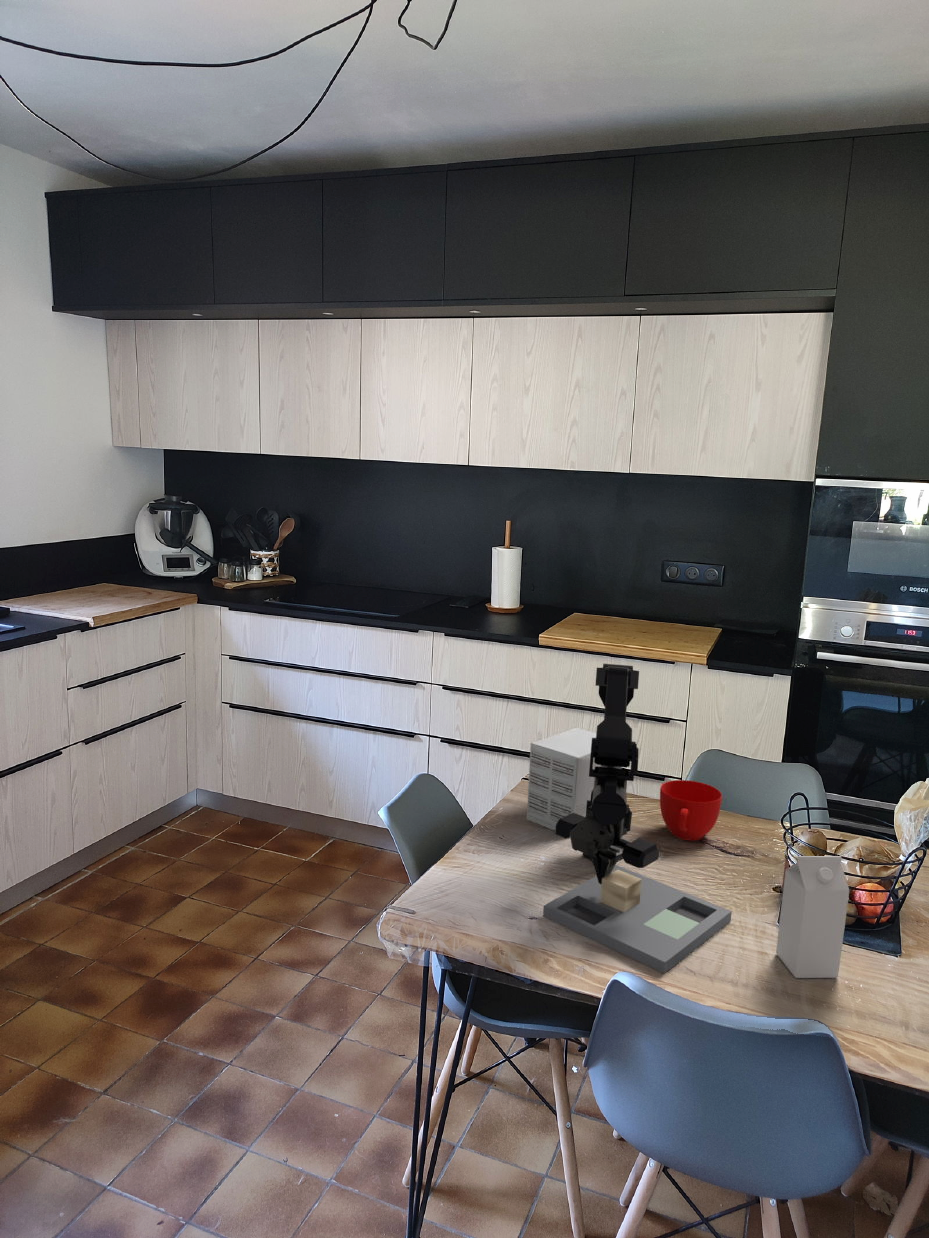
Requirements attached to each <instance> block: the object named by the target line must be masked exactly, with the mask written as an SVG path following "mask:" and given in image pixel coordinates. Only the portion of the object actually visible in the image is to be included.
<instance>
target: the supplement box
mask: <svg viewBox="0 0 929 1238" xmlns="http://www.w3.org/2000/svg"><path fill="white" fill-rule="evenodd" d="M592 738H596V732H592V731H590V730H589V731H588V730H585V729H583V728H579V727H574V728H571V729H569V730H566V731H563V732H560V733H557V734H555V735H554V734H553V735H551V736H548V737H545V738H542V739H540V740H536V741H534V742H530V749H529V750H530V751H529V752H530V753H529V766H528V767H529V771H528V772H529V773H528V787H527V808H526V809H527V811H526V820H527V821H530V822H533V823H535V824H537V825H540V826H542V827H544V826H545V828H548V829H550V830H551V831H554V830H555V825H556V823H557V821H558V820H559V819H560V818H563V817H565V816H567V815H570V814H572V813H576V814H578V815H581V816H584V817H586V806H587V800H591V791H592V790H593V788H594V777H589V768H590V755H591V743H592ZM594 759H595V758H593V769H595V767H601V765H597V764H595V763H594Z"/></svg>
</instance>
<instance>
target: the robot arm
mask: <svg viewBox="0 0 929 1238" xmlns="http://www.w3.org/2000/svg"><path fill="white" fill-rule="evenodd" d="M639 679H640V670H635V669H634V665H625V664H615V663H603V664H602V667H596V673H595V686H596V687H598V696H599V698H600V700H601V703H602V704H603V706H604V716H603V717H604V718H603V720H602V721H601V722H600V723H599V724H597V725H596V732H595V733H596V738H592V743H591V755H590V768H589V777H594V788H593V790H592V791H591V800H587V806H586V817H584V816H581V815H578V814H576V813H572V814H570V815H567V816H565V817H563V818H560V819H559V820H558V821H557V823H556V825H555V831H554V834H555V835H556V836H559V837H561V838H564V839H566V840H568V839H569V838H570V844H571V848H572V849H573V850H574V851H576V852H577V851H578V852H580V853H582V856H583V857H585V858H588V859H591V860H592V864H593V868H594V871H595V876H597V879H598V882H599V884H602V878H603V877H605V876H607V875H609V874H610V873H611V872H612V870H613V868H614V866H615V865H617V863H618V862H619V861H620V860H621V859H623V861H624V863H625V864H628V865H630V866H632V867H635V868H638V869H644V868H646V867H647V866H649V865H651V864H652V863H654V862H656V861H658V860H659V857H660V850H659V846H658V845H657V844H656V843H654V842H652V841H649V840H647V839H644V838H642V837H638V838H636V839H634V840H632V841H630V840H629V839H628V838H624V837H623V836H625V835H627V834H628V832H631V827H632V817H633V812H632V810H631V808H630V805H629V804H627V796H628V795H627V786H628V781H629V782H634V781H635V779H634V778H635V775H638V773H639V772H638V771H639V770H638V769H639V754H640V753H639V750H640V749H639V748H638V746H637V742H636V741H633V728H632V727H631V726H630V725H629V724H628V723H627V707H628V706H629V704H630V703H631V701H632V700H633V698H634V695H635V690H638V689H639V683H640V682H639ZM593 758H595V759H594V763H595V764H597V765H601V767H595V769H593ZM629 767H630V771H629V769H626V768H629Z"/></svg>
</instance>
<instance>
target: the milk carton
mask: <svg viewBox="0 0 929 1238" xmlns="http://www.w3.org/2000/svg"><path fill="white" fill-rule="evenodd" d="M841 862H842V856H841V855H839V856H838V855H835V856H834V855H824V856H819V855H817V856H798V860H797V863H796V864H794V865H792V866H791V867H789V868H788V869H786V871H785V880H784V889H783V892H782V896H781V897H782V898H781V899H782V900H781V907H780V908H781V909H780V917H779V924H778V932H777V939H776V940H777V941H776V947H775V948H776V950H775V954H776V955H777V956H778V957H779V959H780V960H781V961H782V962H783V963H784V965H785V966H786V968H787V969H788V970H789V971H790V973H791V974H792V976H793V977H794V978H795V979H826V978H827V979H828V978H829V979H830V978H831V979H834V978H838V977H839V974H840V973H839V971H840V964H841V957H842V949H843V942H844V934H845V926H846V920H847V919H846V918H847V911H848V904H849V898H850V897H849V896H850V895H849V894H850V888H849V885H848V881H847V878H846V875H845V872H844V868H843V866H842V863H841Z"/></svg>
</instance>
